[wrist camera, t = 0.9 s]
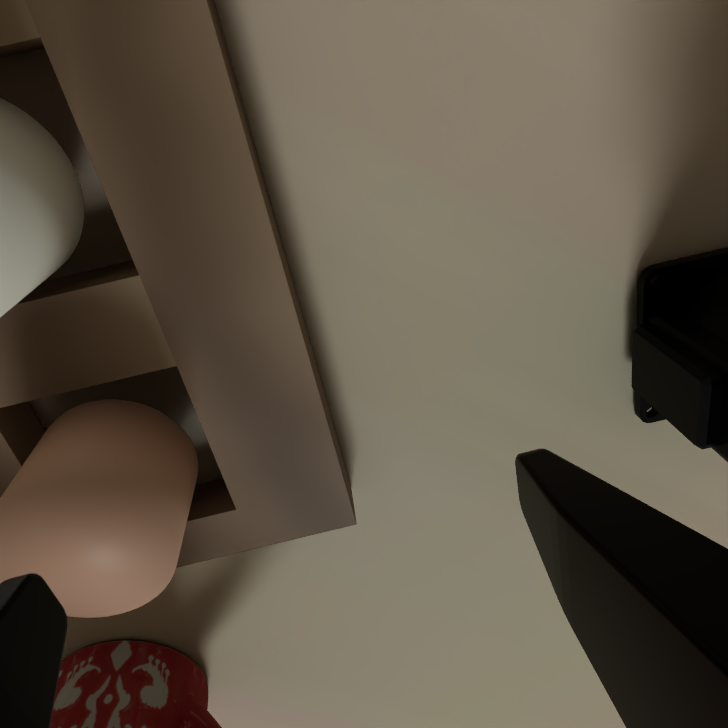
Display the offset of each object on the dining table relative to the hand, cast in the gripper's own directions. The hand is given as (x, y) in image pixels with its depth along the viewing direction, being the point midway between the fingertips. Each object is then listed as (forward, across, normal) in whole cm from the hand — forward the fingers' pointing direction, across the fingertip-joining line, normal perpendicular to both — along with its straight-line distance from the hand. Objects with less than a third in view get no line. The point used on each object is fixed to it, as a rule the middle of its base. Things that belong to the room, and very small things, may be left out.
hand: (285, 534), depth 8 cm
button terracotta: (+10, +7, +4) cm, 13 cm away
